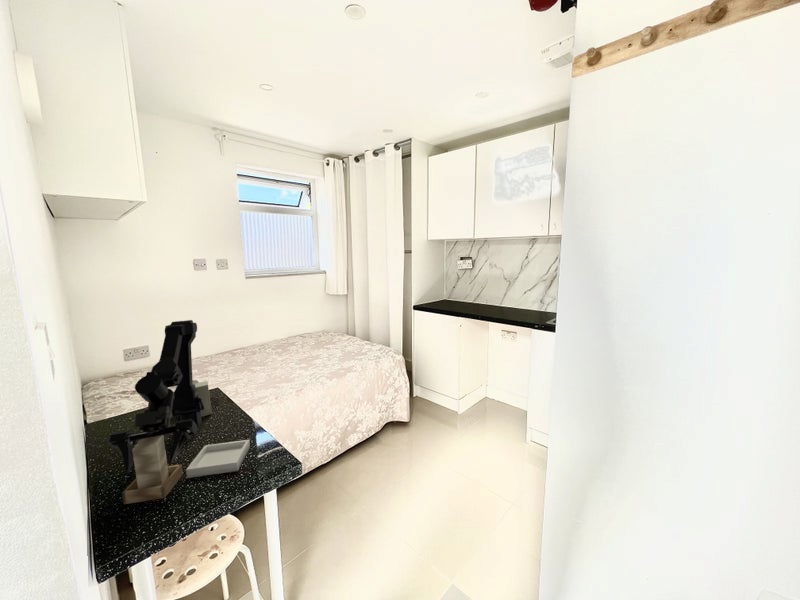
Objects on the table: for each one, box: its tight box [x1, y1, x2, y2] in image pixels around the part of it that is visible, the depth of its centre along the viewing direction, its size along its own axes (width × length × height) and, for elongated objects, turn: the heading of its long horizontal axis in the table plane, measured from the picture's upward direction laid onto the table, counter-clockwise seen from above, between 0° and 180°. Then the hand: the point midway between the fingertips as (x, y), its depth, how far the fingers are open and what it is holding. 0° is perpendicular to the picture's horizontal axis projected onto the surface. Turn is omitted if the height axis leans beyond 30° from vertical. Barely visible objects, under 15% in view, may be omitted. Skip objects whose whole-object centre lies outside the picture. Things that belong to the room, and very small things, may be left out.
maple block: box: [132, 435, 169, 489], centre depth 82 cm, size 5×5×13 cm
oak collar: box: [121, 464, 184, 505], centre depth 83 cm, size 9×9×3 cm
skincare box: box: [195, 380, 213, 418], centre depth 126 cm, size 6×4×12 cm
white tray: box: [185, 439, 251, 479], centre depth 93 cm, size 13×12×2 cm
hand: (149, 467), depth 81 cm, fingers open, 9 cm apart
